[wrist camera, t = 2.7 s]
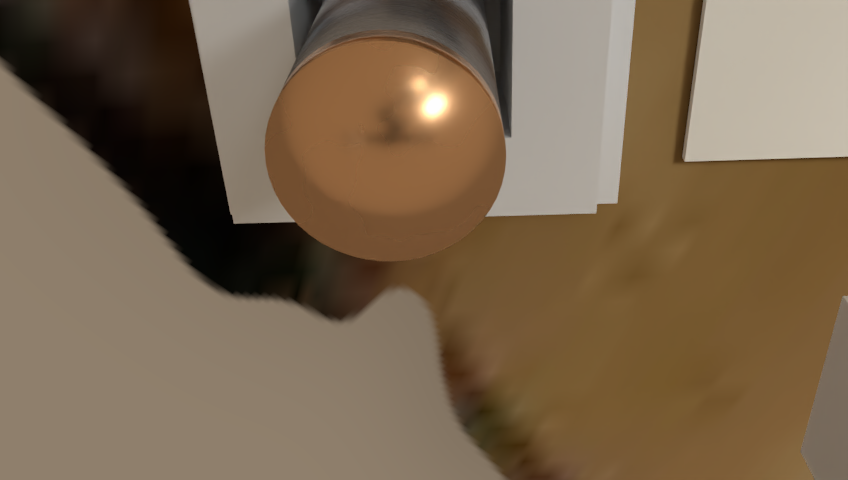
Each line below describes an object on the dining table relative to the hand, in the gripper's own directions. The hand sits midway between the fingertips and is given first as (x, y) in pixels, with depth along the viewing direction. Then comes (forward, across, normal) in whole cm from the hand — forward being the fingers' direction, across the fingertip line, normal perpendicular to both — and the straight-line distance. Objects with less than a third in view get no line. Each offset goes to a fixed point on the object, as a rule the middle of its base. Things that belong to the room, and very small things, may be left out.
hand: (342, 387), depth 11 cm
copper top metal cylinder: (+21, 0, 0) cm, 21 cm away
